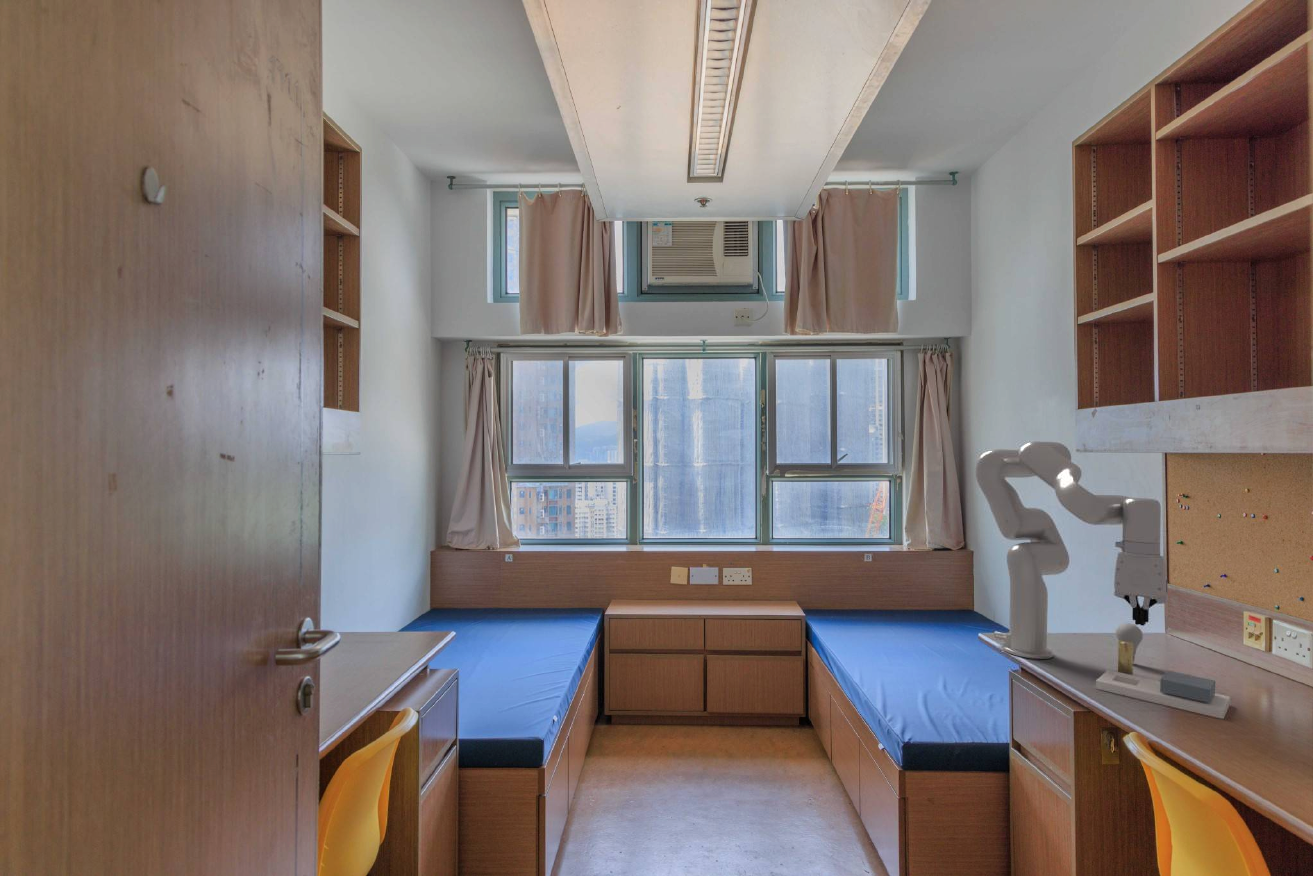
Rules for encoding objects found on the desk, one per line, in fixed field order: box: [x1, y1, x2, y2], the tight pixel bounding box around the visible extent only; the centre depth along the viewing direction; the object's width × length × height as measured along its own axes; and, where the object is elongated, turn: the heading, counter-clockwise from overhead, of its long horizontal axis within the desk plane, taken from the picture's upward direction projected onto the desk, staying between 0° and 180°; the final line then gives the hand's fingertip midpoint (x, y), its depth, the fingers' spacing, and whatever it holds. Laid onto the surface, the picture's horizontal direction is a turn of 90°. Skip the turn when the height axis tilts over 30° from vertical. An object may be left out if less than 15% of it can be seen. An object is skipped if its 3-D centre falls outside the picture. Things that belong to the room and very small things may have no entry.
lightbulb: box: [1115, 622, 1144, 663], centre depth 185 cm, size 6×6×11 cm
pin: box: [1117, 640, 1134, 676], centre depth 173 cm, size 3×3×9 cm
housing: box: [1159, 670, 1216, 703], centre depth 156 cm, size 9×9×3 cm
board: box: [1095, 669, 1231, 720], centre depth 160 cm, size 24×12×2 cm, turn 44°
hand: (1140, 624), depth 163 cm, fingers closed
